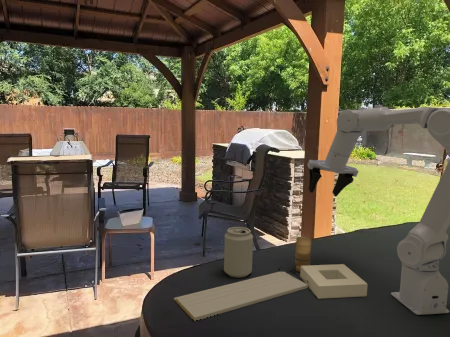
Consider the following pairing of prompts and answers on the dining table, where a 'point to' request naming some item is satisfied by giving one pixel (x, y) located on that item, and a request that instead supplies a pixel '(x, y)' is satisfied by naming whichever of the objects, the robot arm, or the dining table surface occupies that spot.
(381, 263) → the dining table surface
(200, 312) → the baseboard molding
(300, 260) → the oak peg
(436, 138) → the robot arm
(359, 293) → the socket board
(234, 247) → the can
